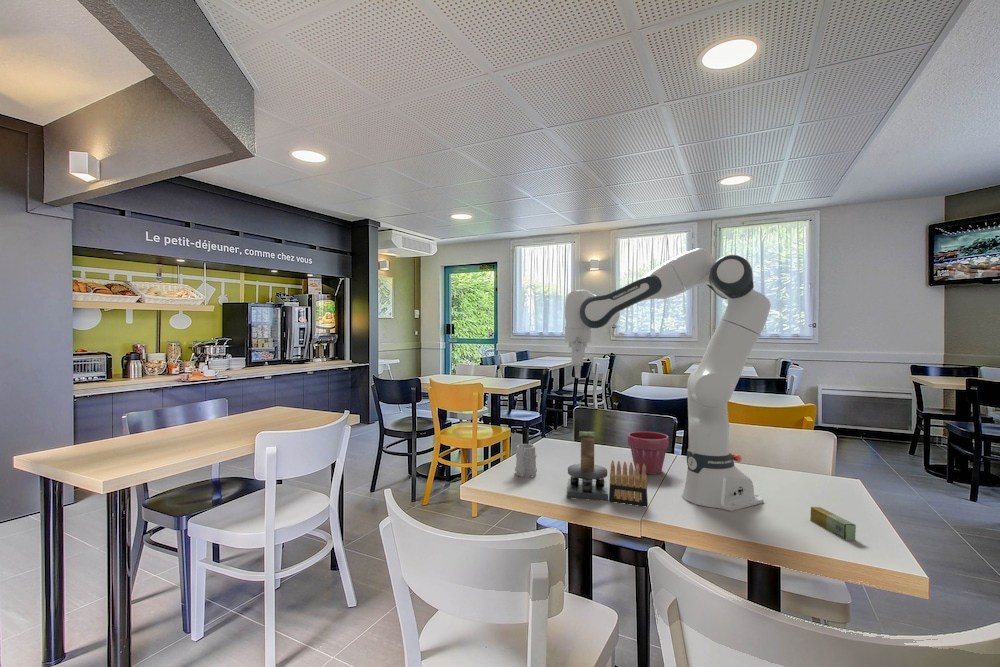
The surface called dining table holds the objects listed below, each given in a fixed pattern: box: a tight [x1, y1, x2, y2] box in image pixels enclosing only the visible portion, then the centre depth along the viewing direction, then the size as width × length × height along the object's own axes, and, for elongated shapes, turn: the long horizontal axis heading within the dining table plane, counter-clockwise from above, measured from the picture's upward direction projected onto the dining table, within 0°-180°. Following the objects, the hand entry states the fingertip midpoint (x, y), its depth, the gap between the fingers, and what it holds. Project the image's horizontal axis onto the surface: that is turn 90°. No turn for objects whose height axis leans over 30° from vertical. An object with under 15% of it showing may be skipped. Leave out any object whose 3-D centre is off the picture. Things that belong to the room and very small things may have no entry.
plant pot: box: [627, 431, 670, 475], centre depth 164 cm, size 14×14×13 cm
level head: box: [567, 430, 608, 481], centre depth 140 cm, size 12×12×13 cm
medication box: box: [809, 506, 857, 542], centre depth 114 cm, size 12×3×4 cm, turn 2°
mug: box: [514, 443, 538, 478], centre depth 156 cm, size 8×12×12 cm, turn 163°
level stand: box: [566, 475, 609, 502], centre depth 140 cm, size 12×12×5 cm
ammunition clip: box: [608, 460, 649, 508], centre depth 131 cm, size 11×2×12 cm, turn 68°
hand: (577, 377), depth 156 cm, fingers closed
